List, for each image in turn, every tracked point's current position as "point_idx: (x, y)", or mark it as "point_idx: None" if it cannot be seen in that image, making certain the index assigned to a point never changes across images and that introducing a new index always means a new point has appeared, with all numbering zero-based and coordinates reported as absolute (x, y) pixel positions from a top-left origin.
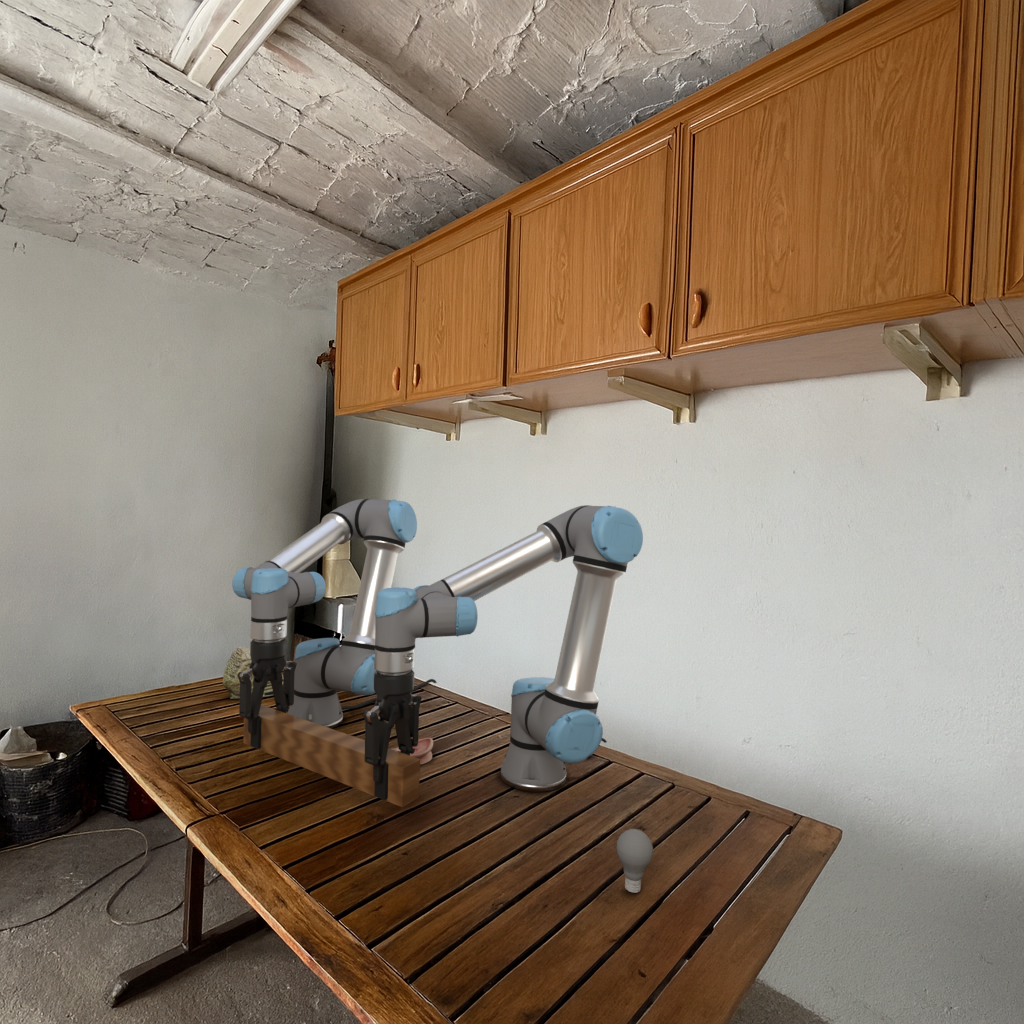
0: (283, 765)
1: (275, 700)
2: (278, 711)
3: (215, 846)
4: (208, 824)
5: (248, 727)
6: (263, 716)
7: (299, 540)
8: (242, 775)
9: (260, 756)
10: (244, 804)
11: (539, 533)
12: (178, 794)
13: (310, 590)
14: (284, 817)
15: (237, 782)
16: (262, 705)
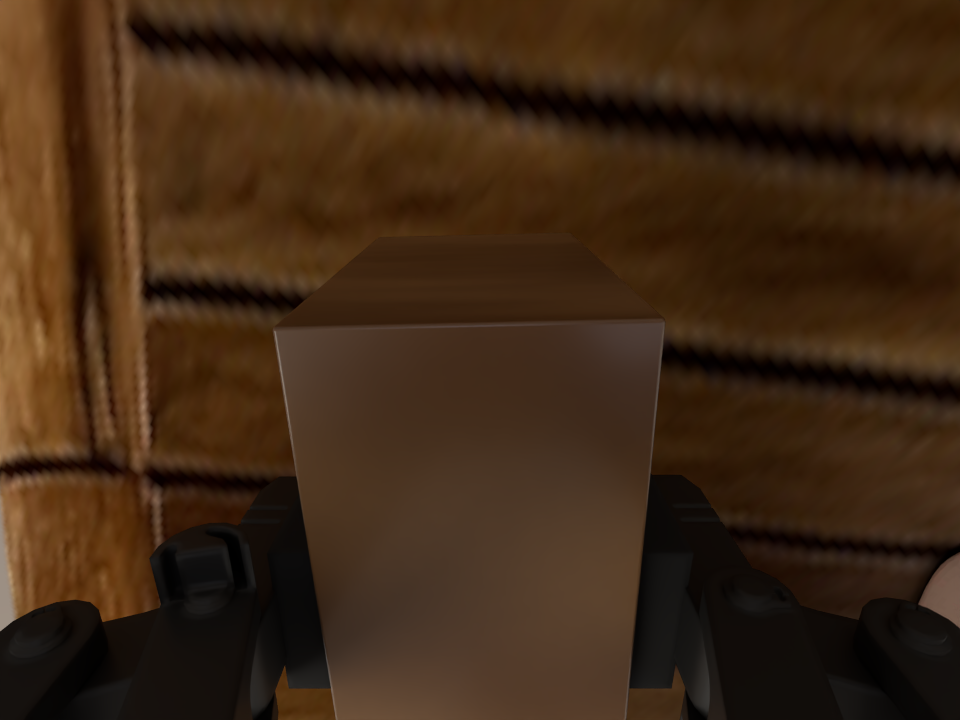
0: (656, 258)
1: (720, 710)
2: (608, 696)
3: None
4: (72, 517)
5: (248, 521)
6: (358, 707)
7: None
8: (421, 193)
9: (675, 4)
10: (261, 481)
11: None
12: (36, 135)
13: None
14: None
15: (352, 255)
16: (655, 334)
